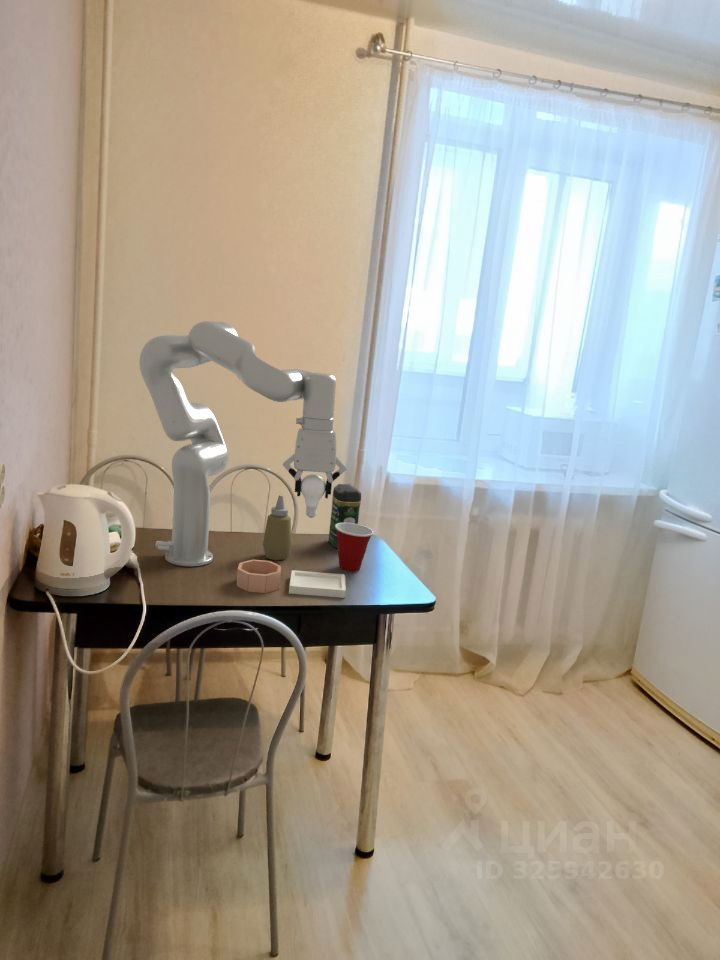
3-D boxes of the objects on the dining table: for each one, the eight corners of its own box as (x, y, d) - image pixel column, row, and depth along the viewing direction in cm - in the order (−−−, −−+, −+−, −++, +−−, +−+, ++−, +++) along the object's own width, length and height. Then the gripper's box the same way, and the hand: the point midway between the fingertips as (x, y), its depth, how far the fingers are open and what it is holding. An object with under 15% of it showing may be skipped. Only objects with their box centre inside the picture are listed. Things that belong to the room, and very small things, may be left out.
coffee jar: (325, 539, 224) (330, 481, 220) (349, 539, 227) (355, 482, 223) (333, 550, 215) (339, 490, 211) (359, 550, 218) (365, 490, 214)
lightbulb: (326, 520, 179) (329, 477, 176) (301, 521, 177) (304, 477, 174) (319, 513, 184) (322, 471, 182) (295, 513, 182) (298, 471, 180)
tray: (288, 593, 180) (289, 585, 179) (291, 577, 190) (291, 570, 190) (345, 597, 181) (345, 590, 180) (344, 581, 191) (344, 574, 191)
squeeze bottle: (292, 562, 201) (297, 500, 197) (263, 562, 199) (268, 499, 195) (288, 552, 209) (293, 492, 205) (260, 552, 207) (264, 491, 203)
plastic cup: (373, 576, 198) (377, 534, 195) (333, 574, 196) (338, 532, 193) (365, 562, 208) (370, 522, 205) (328, 560, 206) (332, 520, 203)
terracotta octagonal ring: (234, 590, 178) (235, 573, 177) (239, 574, 188) (241, 558, 187) (277, 593, 179) (279, 576, 178) (280, 578, 189) (281, 561, 188)
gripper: (280, 424, 171) (276, 497, 175) (353, 429, 172) (347, 502, 176) (283, 419, 179) (279, 490, 183) (352, 425, 179) (347, 495, 183)
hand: (312, 495), depth 179 cm, fingers closed on lightbulb, 6 cm apart
